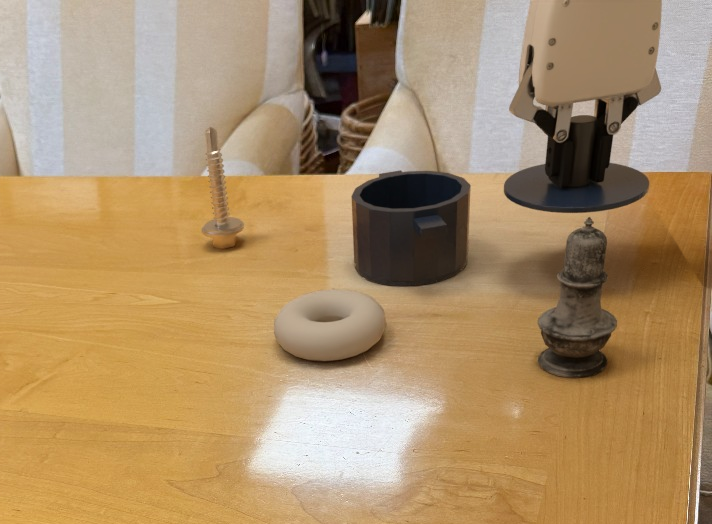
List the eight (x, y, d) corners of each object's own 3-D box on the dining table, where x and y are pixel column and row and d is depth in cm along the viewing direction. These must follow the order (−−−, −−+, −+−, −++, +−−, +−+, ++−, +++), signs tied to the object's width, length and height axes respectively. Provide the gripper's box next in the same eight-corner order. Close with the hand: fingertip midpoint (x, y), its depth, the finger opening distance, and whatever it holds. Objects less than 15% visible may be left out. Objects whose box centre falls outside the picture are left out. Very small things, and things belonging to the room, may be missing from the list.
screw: (201, 254, 103) (207, 237, 106) (243, 251, 102) (248, 235, 105) (183, 135, 95) (191, 122, 99) (229, 131, 94) (235, 118, 98)
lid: (611, 164, 87) (620, 91, 83) (673, 207, 77) (688, 126, 73) (484, 184, 87) (489, 112, 83) (531, 228, 77) (538, 149, 73)
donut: (252, 349, 83) (333, 379, 76) (248, 314, 81) (331, 342, 74) (327, 308, 88) (410, 333, 81) (325, 274, 86) (409, 297, 79)
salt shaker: (577, 387, 71) (596, 239, 64) (518, 362, 75) (529, 220, 68) (627, 360, 73) (651, 214, 66) (567, 337, 77) (583, 197, 70)
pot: (441, 226, 100) (442, 156, 95) (491, 286, 87) (495, 209, 82) (340, 242, 100) (337, 173, 96) (374, 305, 87) (372, 228, 82)
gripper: (681, -77, 73) (644, 155, 84) (483, -47, 74) (473, 181, 85) (731, -69, 67) (685, 180, 78) (516, -36, 68) (500, 208, 79)
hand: (575, 178), depth 81 cm, fingers closed on lid, 2 cm apart
